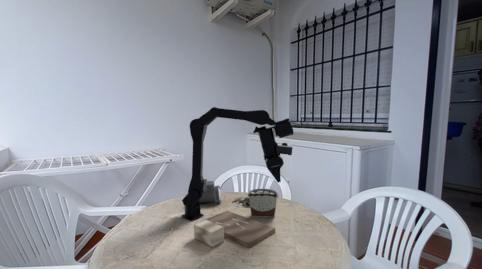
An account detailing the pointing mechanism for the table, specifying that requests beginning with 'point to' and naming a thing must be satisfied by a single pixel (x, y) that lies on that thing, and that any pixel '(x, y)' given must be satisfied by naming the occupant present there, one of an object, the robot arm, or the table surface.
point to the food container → (262, 202)
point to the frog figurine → (241, 201)
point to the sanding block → (209, 233)
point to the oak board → (242, 228)
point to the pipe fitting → (211, 193)
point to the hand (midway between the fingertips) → (277, 179)
